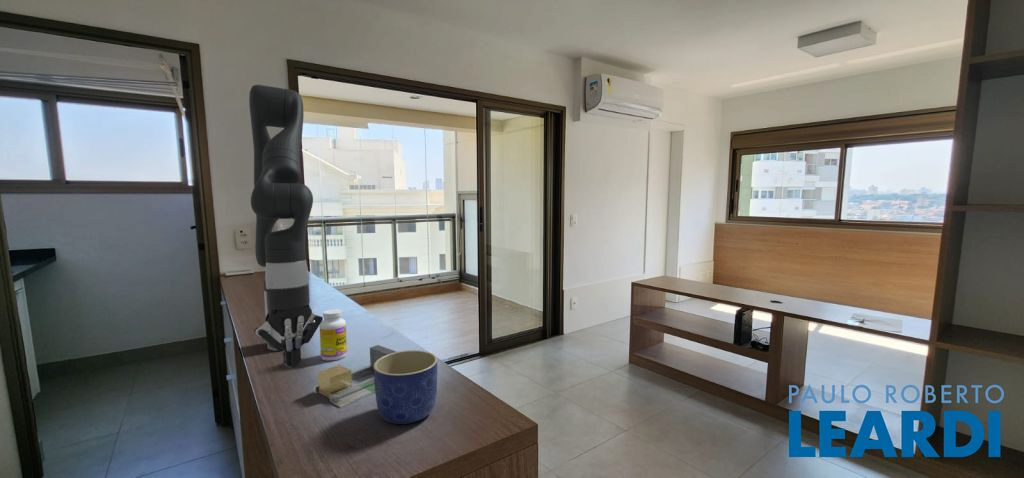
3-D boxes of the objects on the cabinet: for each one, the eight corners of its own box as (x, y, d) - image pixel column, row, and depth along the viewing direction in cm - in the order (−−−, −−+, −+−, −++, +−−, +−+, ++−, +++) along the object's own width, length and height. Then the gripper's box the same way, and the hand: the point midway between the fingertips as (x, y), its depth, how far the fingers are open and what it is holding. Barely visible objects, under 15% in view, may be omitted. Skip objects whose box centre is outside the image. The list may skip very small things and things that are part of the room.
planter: (405, 438, 73) (404, 380, 72) (361, 418, 79) (359, 365, 78) (450, 408, 83) (450, 357, 82) (408, 393, 90) (407, 346, 89)
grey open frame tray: (313, 392, 90) (312, 367, 89) (378, 367, 103) (378, 345, 103) (340, 407, 83) (338, 379, 83) (405, 378, 97) (405, 354, 96)
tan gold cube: (318, 392, 89) (317, 372, 89) (339, 384, 93) (339, 364, 93) (339, 404, 84) (338, 382, 84) (360, 395, 88) (360, 374, 88)
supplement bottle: (337, 362, 106) (335, 315, 105) (315, 360, 108) (313, 314, 107) (352, 353, 113) (350, 308, 112) (331, 351, 114) (329, 307, 113)
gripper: (311, 276, 88) (315, 353, 89) (242, 286, 77) (248, 373, 78) (329, 280, 83) (333, 360, 85) (259, 291, 73) (265, 383, 74)
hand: (292, 366), depth 81 cm, fingers closed
